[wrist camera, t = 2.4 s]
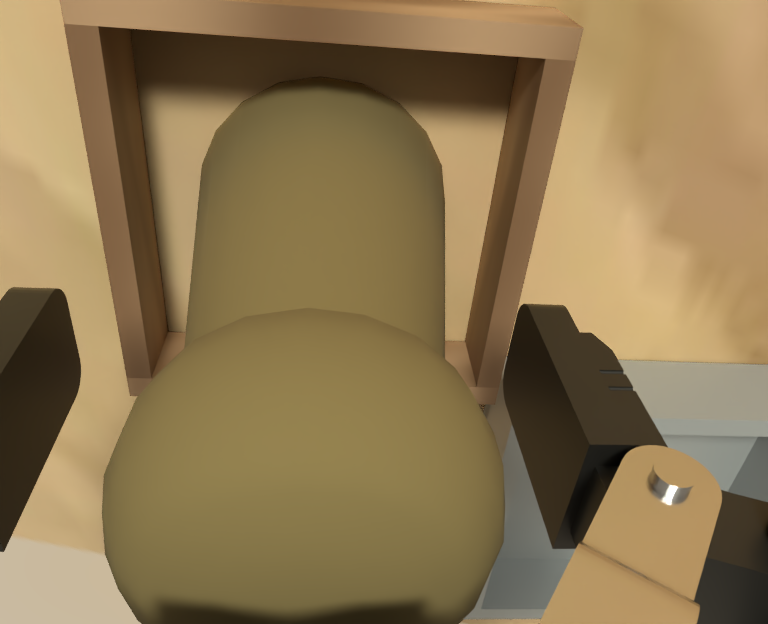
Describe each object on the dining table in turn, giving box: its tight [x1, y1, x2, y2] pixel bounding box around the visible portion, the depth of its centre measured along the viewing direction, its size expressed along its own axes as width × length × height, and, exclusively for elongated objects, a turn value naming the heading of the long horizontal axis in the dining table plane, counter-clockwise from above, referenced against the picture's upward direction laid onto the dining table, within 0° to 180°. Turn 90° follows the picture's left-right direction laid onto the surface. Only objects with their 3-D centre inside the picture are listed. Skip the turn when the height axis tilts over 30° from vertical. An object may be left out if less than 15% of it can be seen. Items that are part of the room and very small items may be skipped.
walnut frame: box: [60, 0, 583, 405], centre depth 16 cm, size 10×10×2 cm
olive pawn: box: [102, 77, 505, 624], centre depth 12 cm, size 6×6×11 cm
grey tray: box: [464, 357, 768, 619], centre depth 22 cm, size 10×10×2 cm
